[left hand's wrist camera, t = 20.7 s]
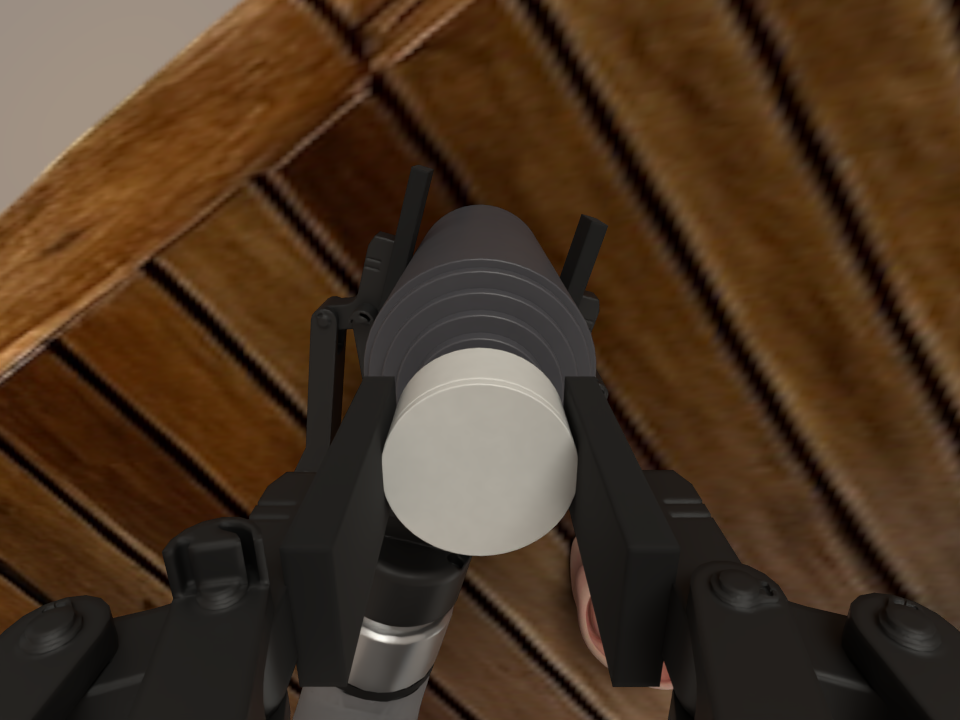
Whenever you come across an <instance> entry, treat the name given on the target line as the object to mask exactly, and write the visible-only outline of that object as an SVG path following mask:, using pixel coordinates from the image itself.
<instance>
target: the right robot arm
mask: <svg viewBox="0 0 960 720" xmlns="http://www.w3.org/2000/svg"><path fill="white" fill-rule="evenodd" d="M433 171H434V169H431V168H427V167H424V166H421V165H416V166H413V167H412V168H411V172H410V176H409V181H408V185H407V189H406V194H405V198H404V202H403V206H402V211H401V215H400V219H399V224H398V228H397V232H396V236H395V235H391V234H388V233H385V232H381V231H380V232H379V233H378V234H377V235H375V237H374V238H373V239H372V241H371V242H370V244H369V245H368V250H367V255H366V259H365V264H364V268H363V273H362V277H361V282H360V287H359V291H358V295H357V296H355V297H350V298H340V297H337V296H333V297H330V298H328V299H327V300H326V301H325V302H324V303H323V304H322V305H321V306H320V307H319V308H318V309H317V310H316V311H315V312H314V313H313V315H312V318H311V334H310V359H309V385H308V410H307V436H306V449H305V451H304V453H303V455H302V457H301V459H300V461H299V463H298V465H297V467H296V469H295V471H294V472H317V471H318V469H319V467H320V465H321V463H322V461H323V459H324V457H325V455H326V453H327V451H328V449H329V447H330V445H331V443H332V441H333V439H334V437H335V435H336V433H337V431H338V429H339V427H340V424H341V411H342V395H343V379H344V363H345V347H346V331H347V329H353V330H354V336H355V341H356V347H357V352H358V357H359V363H360V368H361V374H362V379H364V354H365V348H366V342H367V339H368V336H369V333H370V330H371V327H372V325H373V323H374V321H375V319H376V317H377V315H378V313H379V312H380V310H381V308H382V307H383V305H384V304H385V302H386V300H387V299H388V297H389V295H390V294H391V292H392V290H393V289H394V287H395V285H396V284H397V282H398V280H399V279H400V277H401V276H402V274H403V272H404V271H405V269H406V267H407V266H408V264H409V262H410V261H411V259H412V256H413V252H414V248H415V244H416V240H417V235H418V231H419V227H420V223H421V219H422V215H423V211H424V207H425V203H426V199H427V195H428V191H429V187H430V183H431V179H432V175H433ZM607 227H608V225H606V224H604V223H603V222H601V221H599V220H598V219H596V218H593V217H590V216H586V215H583V214H582V215H581V217H580V220H579V223H578V226H577V229H576V232H575V235H574V238H573V241H572V244H571V247H570V250H569V252H568V255H567V258H566V261H565V264H564V267H563V270H562V273H561V276H560V279H561V281H562V283H563V284H564V286H565V288H566V289H567V291H568V292H569V294H570V296H571V297H572V299H573V301H574V302H575V304H576V306H577V307H578V309H579V311H580V312H581V314H582V316H583V317H584V319H585V321H586V323H587V326H588V328H589V331H590V333H591V332H592V329H593V326H594V324H595V321H596V318H597V316H598V313H599V299H598V298H597V297H596V296H595V294H594V293H592V292H589V291H585V288H586V285H587V283H588V280H589V277H590V274H591V272H592V269H593V266H594V263H595V261H596V258H597V255H598V252H599V250H600V247H601V244H602V241H603V238H604V236H605V233H606V230H607ZM596 380H597V382H598V384H599V386H600V388H601V390H602V392H603V394H604V396H605V398H606V400H607V397H608V391H607V389H606V387H605V385H604V383H603V381H602V379H601V377H600V375H599V373H598V372H597V370H596ZM471 558H472V556H471V555H463V554H457V553H453V552H449V551H445V550H443V549H440V548H437V547H435V546H433V545H431V544H429V543H427V542H425V541H423V540H422V539H420V538H419V537H417V536H416V535H414V534H413V533H412V532H411V531H410V530H409V529H407V528H406V527H405V526H404V525H403V524H402V522H401V521H400V520H399V519H398V518H397V516H396V515H395V513H394V512H393V510H392V509H390V513H389V517H388V521H387V525H386V529H385V534H384V538H383V542H382V546H381V550H380V554H379V558H378V562H377V566H376V570H375V574H374V578H373V582H372V587H371V591H370V595H369V599H368V603H367V607H366V611H365V615H364V619H363V623H362V627H361V631H360V635H359V639H358V644H357V648H356V652H355V656H354V660H353V664H352V668H351V672H350V676H349V680H348V684H347V687H303V688H302V692H301V695H300V698H299V701H298V704H297V708H296V711H295V714H294V717H293V720H417V719H418V713H419V709H420V705H421V701H422V698H423V695H424V692H425V689H426V685H427V682H428V679H429V676H430V673H431V670H432V668H433V665H434V662H435V660H436V657H437V655H438V652H439V649H440V647H441V644H442V641H443V638H444V635H445V633H446V630H447V627H448V624H449V622H450V619H451V616H452V612H453V607H454V604H455V602H456V600H457V598H458V595H459V592H460V589H461V586H462V584H463V581H464V578H465V575H466V572H467V569H468V566H469V564H470V561H471Z"/></svg>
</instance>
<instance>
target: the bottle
mask: <svg viewBox="0 0 960 720" xmlns="http://www.w3.org/2000/svg"><path fill="white" fill-rule="evenodd" d="M469 348H491V349H497V350H502V351H506V352H509V353H512V354H515V355H517V356H519V357H521V358H523V359H525V360H527V361H528V362H530V363H532V364H533V365H534V366H536V367H537V368H538V369H539V370H540V371H542V372H543V373H544V375H545V376H546V377H547V378H548V379H549V380H550V382H551V383H552V384H553V386H554V387H555V389H556V391H557V393H558V395H559V397H560V399H561V402H562V405H563V402H564V384H565V376H595V378H596V356H595V348H594V344H593V340H592V336H591V333H590V331H589V328H588V326H587V323H586V321H585V319H584V317H583V316H582V314H581V312H580V311H579V309H578V307H577V306H576V304H575V302H574V301H573V299H572V297H571V296H570V294H569V292H568V291H567V289H566V288H565V286H564V284H563V283H562V281H561V279H560V278H559V276H558V274H557V273H556V271H555V269H554V268H553V266H552V264H551V263H550V261H549V259H548V258H547V256H546V254H545V253H544V251H543V249H542V248H541V246H540V245H539V243H538V241H537V240H536V238H535V236H534V235H533V233H532V231H531V230H530V229H529V228H528V226H527V225H526V224H525V223H524V222H523V221H522V220H521V219H519V218H518V217H516V216H515V215H514V214H512V213H510V212H508V211H506V210H504V209H501V208H498V207H494V206H489V205H471V206H466V207H462V208H459V209H456V210H454V211H452V212H450V213H448V214H447V215H445V216H444V217H442V218H441V219H440V220H439V221H437V222H436V223H435V224H434V225H433V227H432V228H431V229H430V230H429V232H428V233H427V235H426V236H425V238H424V239H423V241H422V243H421V244H420V246H419V248H418V249H417V251H416V253H415V254H414V256H413V257H412V259H411V261H410V262H409V264H408V266H407V267H406V269H405V271H404V272H403V274H402V276H401V277H400V279H399V280H398V282H397V284H396V285H395V287H394V289H393V290H392V292H391V294H390V295H389V297H388V299H387V300H386V302H385V304H384V305H383V307H382V308H381V310H380V312H379V313H378V315H377V317H376V319H375V321H374V323H373V325H372V327H371V330H370V333H369V336H368V339H367V342H366V348H365V354H364V377H365V376H395V390H396V408H397V404H398V401H399V399H400V396H401V394H402V392H403V390H404V389H405V387H406V385H407V384H408V382H409V381H410V380H411V379H412V378H413V376H414V375H415V374H416V373H417V372H418V371H419V370H421V369H422V368H423V367H424V366H425V365H427V364H428V363H430V362H431V361H433V360H435V359H437V358H439V357H441V356H443V355H445V354H448V353H451V352H454V351H458V350H463V349H469Z"/></svg>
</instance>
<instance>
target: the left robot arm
mask: <svg viewBox="0 0 960 720" xmlns="http://www.w3.org/2000/svg"><path fill="white" fill-rule="evenodd" d="M563 408H564V412H565V415H566V418H567V421H568V424H569V427H570V430H571V434H572V437H573V440H574V443H575V446H576V449H577V454H578V465H577V479H576V492H575V496H574V498H573V500H572V502H571V505H570V507H569V510H570V515H571V519H572V523H573V527H574V531H575V535H576V539H577V543H578V547H579V551H580V555H581V559H582V563H583V568H584V572H585V576H586V580H587V584H588V588H589V592H590V596H591V600H592V604H593V608H594V612H595V616H596V621H597V625H598V629H599V633H600V637H601V641H602V645H603V649H604V653H605V657H606V661H607V665H608V669H609V674H610V678H611V682H612V686H613V687H660V682H661V675H662V668H663V662H664V663H665V666H666V669H667V672H668V674H669V677H670V680H671V683H672V686H673V692H672V698H671V704H670V710H669V717H668V720H960V632H959V631H958V630H957V629H956V628H955V627H954V626H952V625H951V624H950V623H949V622H947V621H946V620H945V619H943V618H942V617H941V616H940V615H938V614H937V613H935V612H933V611H931V610H929V609H928V608H926V607H924V606H922V605H920V604H918V603H916V602H913V601H910V600H907V599H904V598H901V597H898V596H895V595H889V594H880V593H871V594H866V595H860V596H859V597H857V598H856V599H855V600H854V601H853V602H852V603H851V605H850V609H849V612H848V616H845V615H841V614H837V613H832V612H828V611H824V610H819V609H815V608H811V607H806V606H803V605H800V604H796V603H793V602H790V601H788V600H787V598H786V596H785V594H784V593H783V591H782V590H781V588H780V587H779V585H778V584H776V583H775V582H774V581H773V580H772V579H770V578H769V577H768V576H767V575H765V574H764V573H762V572H760V571H758V570H756V569H754V568H752V567H750V566H748V565H744V564H741V562H740V560H739V559H738V557H737V556H736V554H735V552H734V551H733V549H732V548H731V546H730V544H729V543H728V541H727V540H726V538H725V536H724V535H723V533H722V532H721V530H720V528H719V527H718V525H717V524H716V522H715V520H714V519H713V518H711V516H710V515H711V514H710V512H709V511H708V509H707V508H706V506H705V504H702V500H701V498H700V496H699V495H698V493H697V492H696V490H695V488H694V487H693V485H692V484H691V483H690V482H688V481H687V480H686V479H684V478H683V477H681V476H680V475H679V474H677V473H676V472H675V471H673V470H641V468H640V466H639V464H638V462H637V460H636V458H635V456H634V454H633V452H632V450H631V448H630V446H629V444H628V442H627V440H626V438H625V436H624V434H623V432H622V430H621V428H620V426H619V424H618V422H617V420H616V418H615V416H614V414H613V412H612V410H611V408H610V406H609V404H608V402H607V400H606V398H605V396H604V394H603V392H602V390H601V388H600V386H599V384H598V382H597V380H596V378H595V376H565V384H564V402H563ZM395 411H396V390H395V376H365V377H364V379H363V381H362V383H361V385H360V387H359V389H358V391H357V393H356V395H355V397H354V399H353V401H352V403H351V405H350V407H349V409H348V411H347V413H346V415H345V417H344V419H343V421H342V423H341V425H340V427H339V429H338V431H337V433H336V435H335V437H334V439H333V441H332V443H331V445H330V447H329V449H328V451H327V453H326V455H325V457H324V459H323V461H322V463H321V465H320V467H319V469H318V471H317V472H286V473H285V474H283V475H282V476H281V477H279V478H278V479H277V480H275V481H274V482H273V483H271V484H270V485H269V486H268V487H267V489H266V490H265V492H264V493H263V495H262V497H261V498H260V500H259V501H258V506H255V508H254V509H253V511H252V513H251V514H250V516H249V520H248V519H244V518H241V517H221V518H217V519H212V520H208V521H204V522H201V523H199V524H197V525H194V526H192V527H190V528H187V529H185V530H184V531H183V532H181V533H180V534H178V535H177V536H176V537H174V538H173V539H172V540H171V541H170V542H169V543H168V545H167V546H166V547H165V549H164V550H163V551H162V554H163V558H164V562H165V566H166V571H167V575H168V579H169V583H170V587H171V591H172V596H173V601H172V603H171V604H168V605H165V606H161V607H158V608H155V609H151V610H146V611H142V612H138V613H134V614H129V615H125V616H121V617H116V618H113V617H112V614H111V610H110V607H109V605H108V604H107V603H106V602H104V601H103V600H102V599H101V598H97V597H92V596H87V595H84V596H76V597H67V598H64V599H61V600H58V601H55V602H51V603H48V604H45V605H43V606H41V607H39V608H38V609H36V610H34V611H32V612H30V613H28V614H26V615H24V616H23V617H21V618H20V619H19V620H18V621H16V622H15V623H14V624H13V625H11V626H10V627H9V628H8V629H6V630H5V631H4V632H3V633H2V634H1V635H0V720H290V705H289V698H288V692H287V687H288V685H289V682H290V679H291V676H292V673H293V670H294V668H295V665H296V664H297V671H298V677H299V684H300V687H347V684H348V680H349V676H350V672H351V668H352V664H353V660H354V656H355V652H356V648H357V644H358V639H359V635H360V631H361V627H362V623H363V619H364V615H365V611H366V607H367V603H368V599H369V595H370V591H371V587H372V582H373V578H374V574H375V570H376V566H377V562H378V558H379V554H380V550H381V546H382V542H383V538H384V534H385V529H386V525H387V521H388V517H389V513H390V509H391V507H390V505H389V503H388V501H387V499H386V496H385V493H384V484H383V470H382V452H383V449H384V445H385V442H386V439H387V436H388V433H389V429H390V426H391V423H392V420H393V417H394V414H395Z"/></svg>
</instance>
